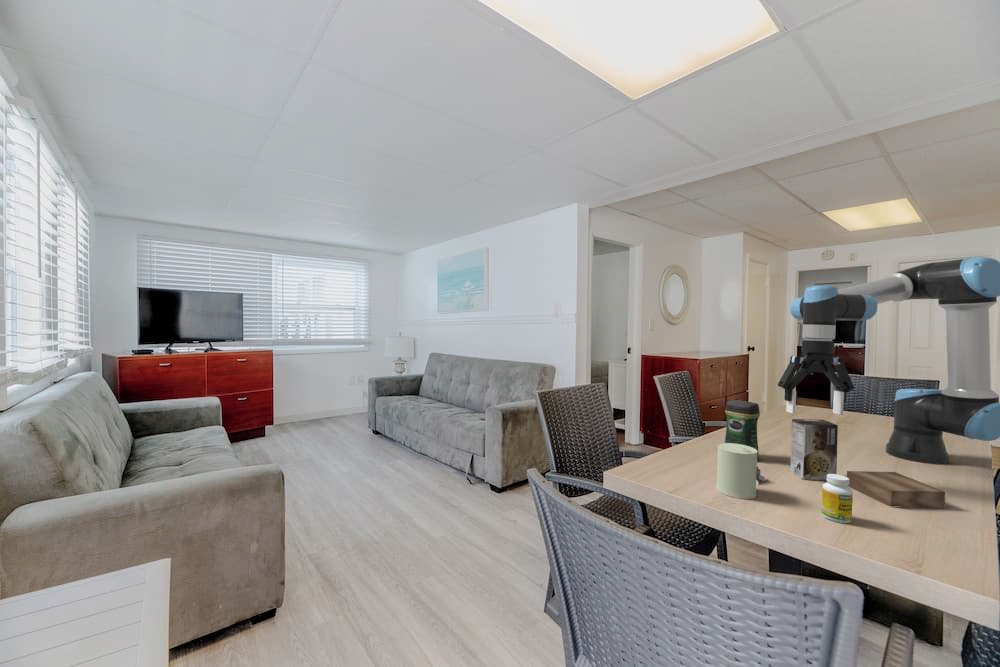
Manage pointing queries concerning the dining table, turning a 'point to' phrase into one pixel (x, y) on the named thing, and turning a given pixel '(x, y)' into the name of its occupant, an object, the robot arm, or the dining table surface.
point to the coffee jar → (742, 423)
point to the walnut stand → (896, 489)
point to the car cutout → (759, 476)
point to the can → (736, 470)
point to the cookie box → (813, 448)
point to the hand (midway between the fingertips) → (814, 413)
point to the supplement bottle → (837, 499)
